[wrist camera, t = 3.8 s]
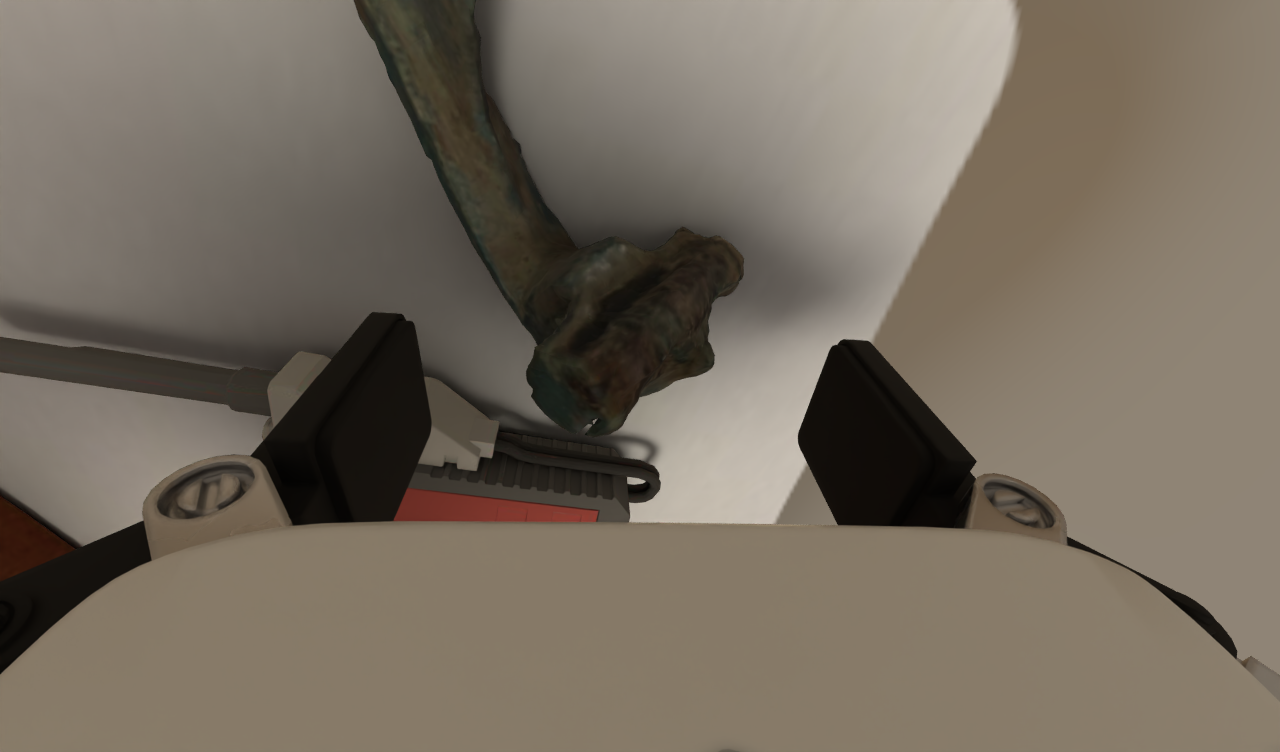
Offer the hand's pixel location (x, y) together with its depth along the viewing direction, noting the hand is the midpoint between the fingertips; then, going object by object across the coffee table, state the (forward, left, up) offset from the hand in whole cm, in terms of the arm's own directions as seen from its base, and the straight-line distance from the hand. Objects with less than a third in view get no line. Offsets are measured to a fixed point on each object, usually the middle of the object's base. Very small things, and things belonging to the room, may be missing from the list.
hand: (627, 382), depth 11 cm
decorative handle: (-4, +4, -2) cm, 6 cm away
